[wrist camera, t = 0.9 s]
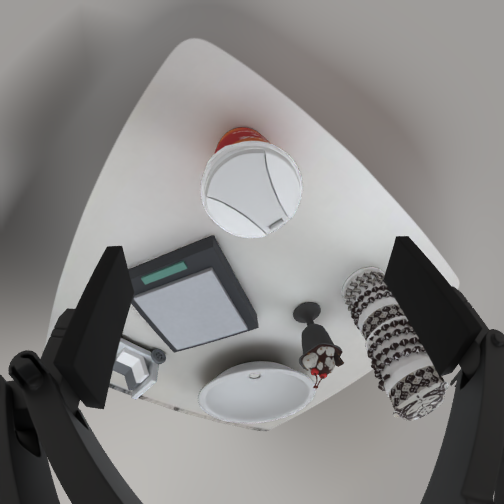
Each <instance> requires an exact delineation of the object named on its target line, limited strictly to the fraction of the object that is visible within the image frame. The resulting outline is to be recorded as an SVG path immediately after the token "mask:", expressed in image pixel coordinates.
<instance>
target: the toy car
mask: <svg viewBox="0 0 504 504" xmlns="http://www.w3.org/2000/svg"><path fill="white" fill-rule="evenodd" d="M165 360H166V355H165V353H164V352H163V351H162V350H160V349H154V350H153V351H152V352H150V351H147V350H145V349H143V348H141V347H139V346H137V345H135V344H133V343H131V342H129V341H127V340H125V339H123V338H121V339H120V343H119V347H118V351H117V355H116V358H115V362H114V366H113V371H116V372H118V373H120V374H122V375H124V376H125V379H126V383H127V386H128V389H129V390H133V391H132V398H133V399H135V400H136V399H137V398H138V397H139V396H141V395H142V394H143V393H144V392H145V391H146V390H148V389H149V388H150V387H151V386H152V385H153V384H155V383H156V382H157V375H158V368H159V364H162V363H163V362H165Z"/></svg>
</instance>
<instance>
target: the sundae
mask: <svg viewBox="0 0 504 504" xmlns="http://www.w3.org/2000/svg"><path fill="white" fill-rule="evenodd" d="M320 311H321V308H320V306H319V305H318V304H316V303H312V302H308V303H304V304H301V305H300V306H298V307H297V308H296V309H295V311H294V313H293V317H294V319H295V320H296V321H298V322H301V323H307V327H306V328H305V329H304V331H303V332H302V348H303V355H302V356H301V357H300V359H299V363H300V365H301V366H302V367H303V368H304V369H306V370H310V371H311V374H312V375H315V376H316V384H317V375H319V377H320V378H321V380H322V379H324V378H326V377H327V374H329V373H331V371H332V370H333V369H334V367H335V365H336V366H338V367H339V366H341V365H343V364H344V362H343V361H342V359H341V358H340V356H341V354H342V351H341V348H340V347H338V346H336V345H334V344H333V342H332V340H331V338H330V337H329V335H328V333H327V331H326V330H325V329H324V327H323V326H321V325H318V324H314V322H313V320H315V319H316V318H317V317H318V316H319V314H320ZM321 380H320V381H321ZM320 381H319V383H320ZM319 383H318V385H319ZM316 384H315V386H313V388H318V385H317V386H316Z"/></svg>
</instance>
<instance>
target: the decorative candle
mask: <svg viewBox="0 0 504 504" xmlns="http://www.w3.org/2000/svg"><path fill="white" fill-rule="evenodd" d="M384 276H385V274H384V272H383V271H382V270H380V269H379V268H375V267H367V268H362V269H360V270H358V271H356V272H354V273H353V274H352V275H351V276H350V277H349V278H348V279H347V280H346V282H345V284H344V285H343V288H342V296H343V298H344V300H345V301H346V302H345V304H347V305H349V306H348V310H349V311H351V315H352V316H351V317H352V318H353V319H354V321H355V322H354V323H355V325H356V326H357V328H358V329H359V330H360V331H361V334H362V336H364V338H365V340H366V344H365V347H366V349H367V353H368V357H369V358H371V359H372V362H371V363H372V365H371V367H372V368H373V369H374V370H375V377H376V378H378V379H382V380H381V381H380V382H379V386H378V388H379V389H381V390H382V391H386V393H387V395H388V398H390V400H391V402H392V405H393V407H394V409H395V411H394V413H393V414H394V416H395V417H401V418H403V419H405V420H409V421H411V420H415V419H418V418H421V417H423V416H425V415H427V414H429V413H430V412H432V411H433V410H435V409H436V408H437V407H438V406H439V405H440V404H441V403H442V402H443V400H444V397H445V391H446V390H447V388H448V383H446V382H445V381H444V379H443V378H442V376H440V377H439V375H438V373H437V371H436V369H435V367H434V366H433V364H432V362H431V360H430V358H429V356H428V354H427V353H426V351H425V349H424V347H423V345H422V344H421V342H420V340H419V338H418V337H417V335H416V333H415V331H414V330H413V328H412V326H411V324H410V323H409V321H408V319H407V318H406V316H405V314H404V313H403V311H402V309H401V308H400V306H399V304H398V303H397V301H396V300H395V298H394V296H393V295H392V293H391V292H390V290H389V288H388V287H387V285H386V284H385V282H384V281H383V279H384Z"/></svg>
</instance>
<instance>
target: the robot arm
mask: <svg viewBox="0 0 504 504" xmlns="http://www.w3.org/2000/svg"><path fill="white" fill-rule="evenodd" d="M383 281H384V282H385V284H386V285H387V287H388V288H389V290H390V292H391V293H392V295H393V296H394V298H395V300H396V301H397V303H398V304H399V306H400V308H401V309H402V311H403V313H404V314H405V316H406V318H407V319H408V321H409V323H410V324H411V326H412V328H413V330H414V331H415V333H416V335H417V337H418V338H419V340H420V342H421V344H422V345H423V347H424V349H425V351H426V353H427V354H428V356H429V358H430V360H431V362H432V364H433V366H434V367H435V369H436V371H437V373H438V375H439V377H440V376H443V375H446V374H449V373H452V372H453V370H454V369H455V368H456V366H457V365H458V364H459V365H460V367H461V370H460V371H459V372H458V374H457V375H456V376H455V377H454V379H453V380H452V381H451V383H450V385H453V383H454V382H455V381H456V380H457V383H456V385H455V387H456V389H455V394H454V399H453V403H452V408H451V413H450V417H449V421H448V425H447V428H446V433H445V436H444V439H443V443H442V446H441V449H440V453H439V456H438V459H437V462H436V465H435V468H434V471H433V474H432V476H431V479H430V482H429V484H428V487H427V490H426V492H425V494H424V497H423V499H422V501H421V504H504V334H503V333H501V332H500V331H498V330H494V329H491V330H489V329H488V327H487V326H486V325H485V323H484V322H483V321H482V319H481V318H480V316H479V315H478V314H477V312H476V311H475V310H474V308H472V306H471V304H470V303H469V302H467V300H466V298H465V297H464V295H463V294H462V293H461V292H460V291H458V290H457V289H456V288H455V287H451V285H450V284H449V283H448V282H447V280H446V279H445V278H444V277H443V276H442V274H441V273H440V272H439V271H438V270H437V268H436V267H435V266H434V265H433V264H432V263H431V261H430V260H429V259H428V258H427V257H426V256H425V254H424V253H423V252H422V251H421V250H420V249H419V248H418V247H417V245H416V244H415V243H414V242H413V241H412V240H411V239H410V238H409V237H408V236H397V237H396V239H395V243H394V246H393V250H392V253H391V257H390V260H389V263H388V267H387V270H386V273H385V276H384V279H383ZM133 295H134V289H133V286H132V282H131V279H130V275H129V271H128V268H127V264H126V260H125V256H124V252H123V248H122V246H109V247H107V248H106V250H105V251H104V253H103V255H102V257H101V259H100V261H99V263H98V264H97V266H96V268H95V270H94V272H93V274H92V276H91V278H90V280H89V282H88V284H87V286H86V288H85V290H84V292H83V294H82V296H81V298H80V300H79V303H78V305H77V307H76V309H66V311H65V312H64V313H63V314H62V315H61V316H60V317H59V318H58V321H57V323H56V325H55V329H53V331H52V334H51V337H50V338H49V340H48V343H47V345H46V347H45V350H44V352H43V354H42V357H41V359H40V358H39V357H38V356H37V354H36V353H35V352H33V351H23V352H20V353H18V354H17V355H16V356H15V357H14V358H13V359H12V361H11V362H10V365H9V375H10V376H11V377H12V378H13V380H14V381H6V380H5V379H4V378H3V377H2V375H0V504H60V502H59V499H58V496H57V493H56V489H55V486H54V482H53V479H52V475H51V471H50V467H49V463H48V460H49V462H50V463H51V466H52V468H53V470H54V472H55V473H56V476H57V478H58V479H59V481H60V483H61V485H62V487H63V489H64V491H65V492H66V494H67V496H68V497H69V499H70V501H71V503H72V504H143V503H142V502H141V501H140V500H139V498H138V497H137V496H136V495H135V493H134V492H133V491H132V489H131V488H130V487H129V486H128V484H127V483H126V482H125V480H124V479H123V477H122V476H121V475H120V473H119V472H118V470H117V469H116V468H115V466H114V465H113V463H112V462H111V460H110V459H109V457H108V456H107V454H106V453H105V451H104V450H103V448H102V446H101V445H100V443H99V442H98V440H97V439H96V437H95V435H94V433H93V432H92V430H91V428H90V427H89V425H88V423H87V421H86V419H85V418H84V416H83V414H82V412H81V411H80V410H79V408H78V405H79V401H80V400H81V401H82V402H83V403H84V404H85V406H86V407H92V408H99V409H104V406H105V401H106V397H107V392H108V388H109V383H110V379H111V375H112V371H113V366H114V362H115V358H116V355H117V351H118V347H119V343H120V339H121V336H122V332H123V329H124V325H125V322H126V318H127V315H128V311H129V308H130V305H131V302H132V298H133ZM47 457H48V459H47ZM494 491H495V495H494ZM493 495H494V502H493Z"/></svg>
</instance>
